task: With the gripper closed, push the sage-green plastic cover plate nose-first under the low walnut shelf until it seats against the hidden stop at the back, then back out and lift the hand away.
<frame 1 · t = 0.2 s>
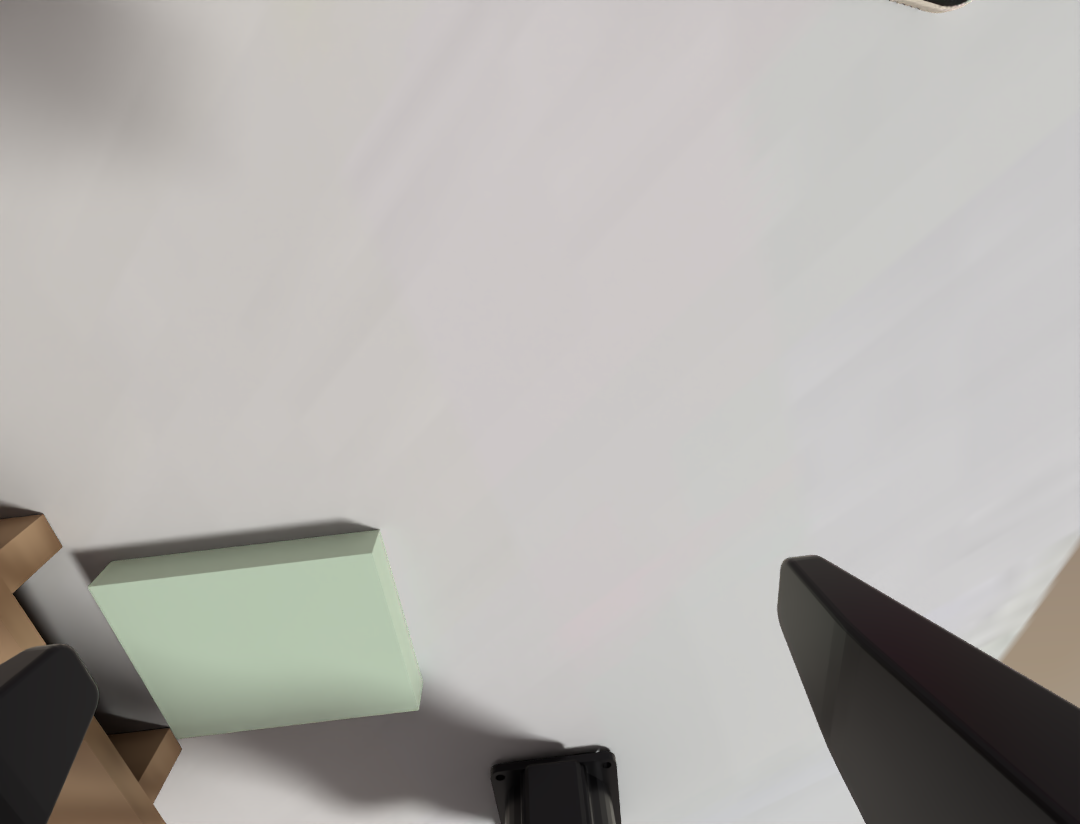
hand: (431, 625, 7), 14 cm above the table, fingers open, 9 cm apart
cover plate: (283, 617, 26), on the table
low shelf: (8, 659, 26), on the table
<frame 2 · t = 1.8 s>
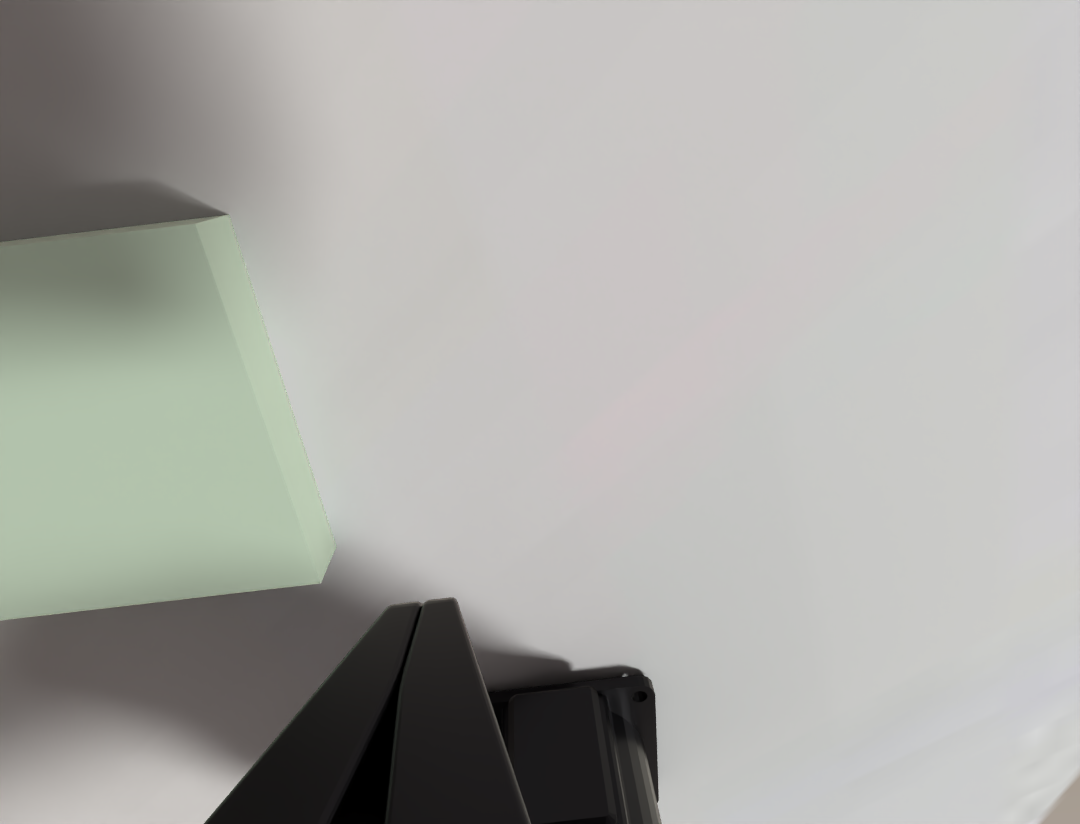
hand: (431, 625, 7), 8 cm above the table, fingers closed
cover plate: (85, 419, 15), on the table
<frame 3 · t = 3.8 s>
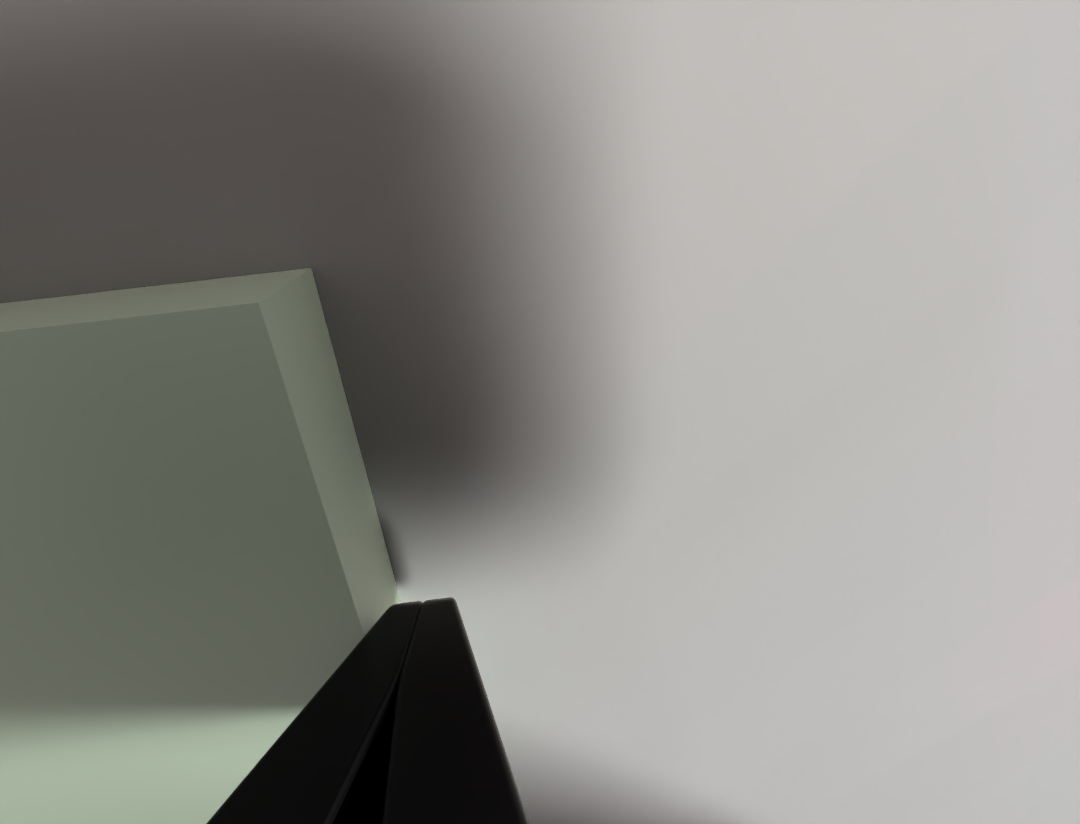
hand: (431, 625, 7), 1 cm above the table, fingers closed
cover plate: (39, 603, 9), on the table
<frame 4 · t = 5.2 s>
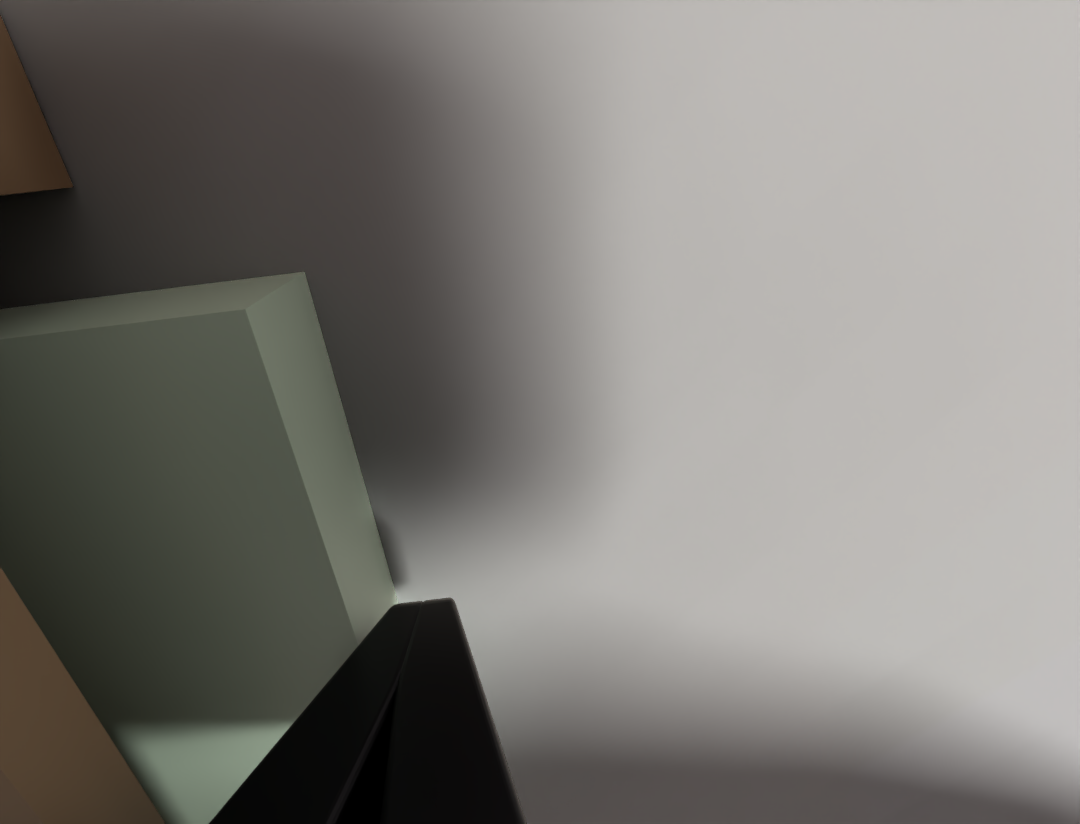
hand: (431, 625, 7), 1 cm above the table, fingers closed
cover plate: (33, 613, 9), on the table, touching gripper, low shelf
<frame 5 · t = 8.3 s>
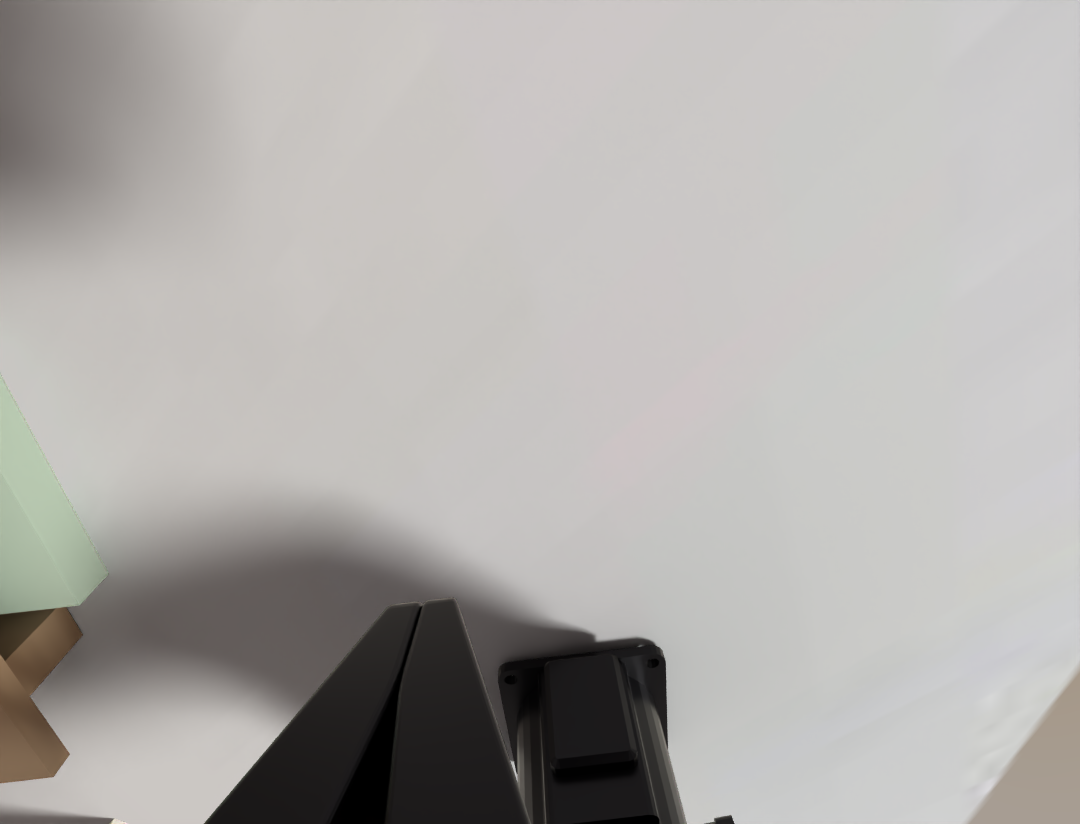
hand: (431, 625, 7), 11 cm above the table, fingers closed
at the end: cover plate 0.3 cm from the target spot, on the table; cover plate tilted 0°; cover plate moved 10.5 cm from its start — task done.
